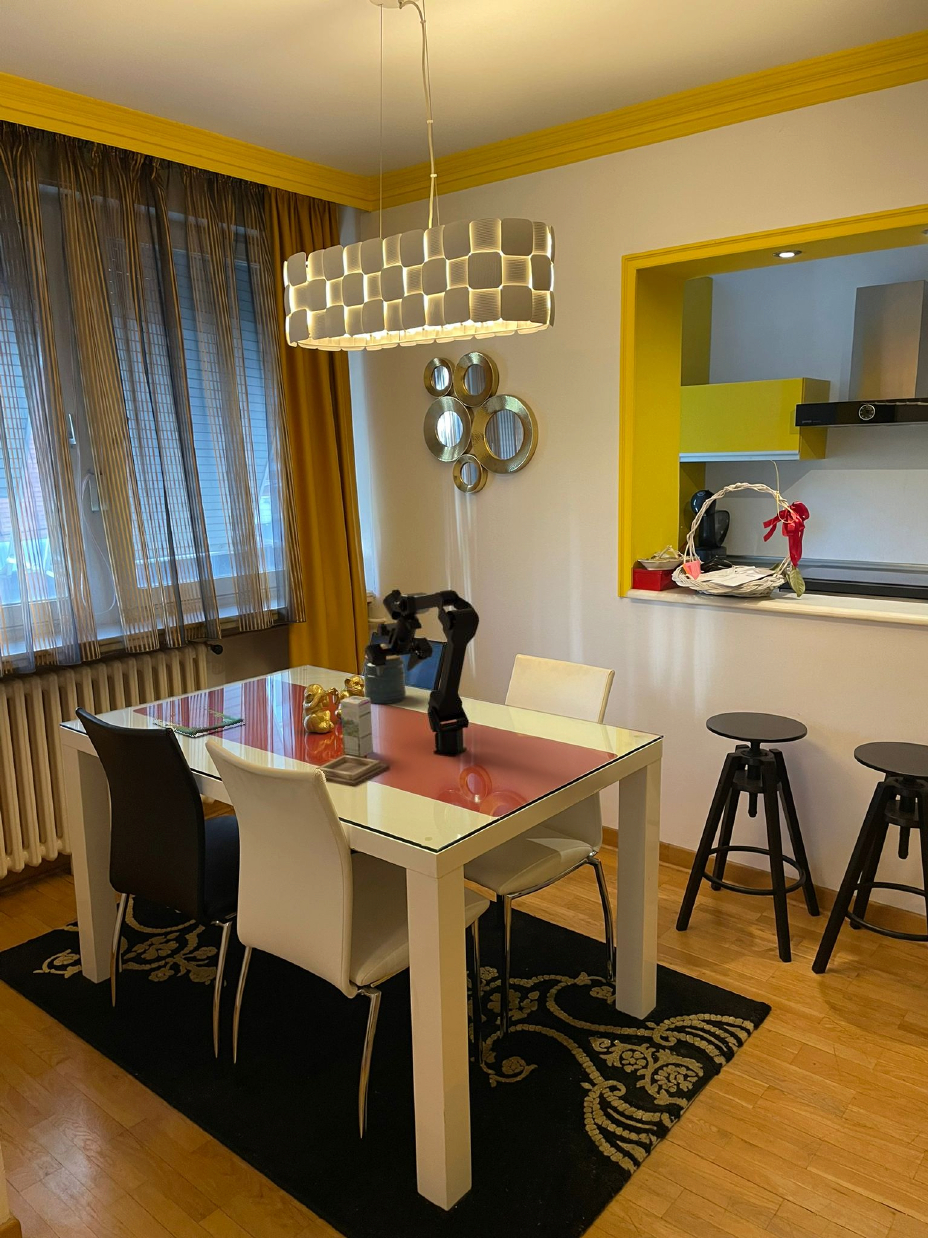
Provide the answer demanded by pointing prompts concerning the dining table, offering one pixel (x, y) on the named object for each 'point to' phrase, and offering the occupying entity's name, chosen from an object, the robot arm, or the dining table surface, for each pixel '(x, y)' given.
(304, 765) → the dining table surface
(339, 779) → the socket stand
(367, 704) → the syrup box
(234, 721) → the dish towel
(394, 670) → the canister
